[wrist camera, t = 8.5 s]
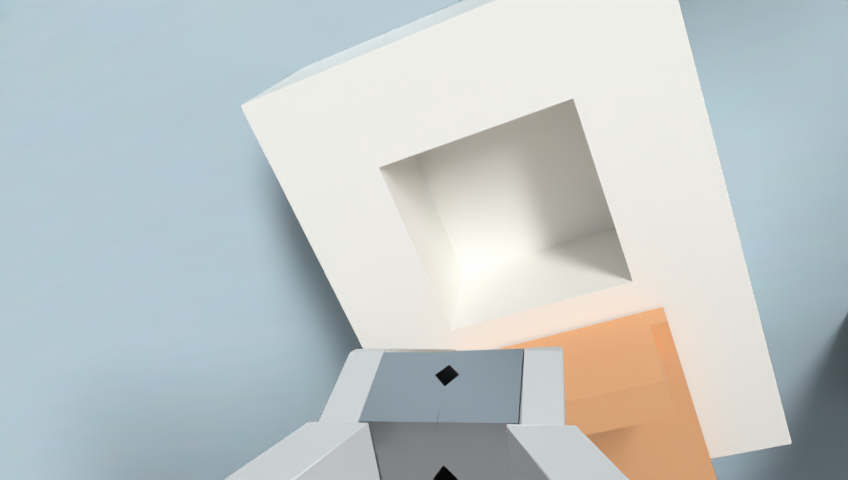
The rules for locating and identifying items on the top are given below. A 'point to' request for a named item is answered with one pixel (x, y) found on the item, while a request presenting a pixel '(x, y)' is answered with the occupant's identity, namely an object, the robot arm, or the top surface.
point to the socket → (527, 191)
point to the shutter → (632, 397)
